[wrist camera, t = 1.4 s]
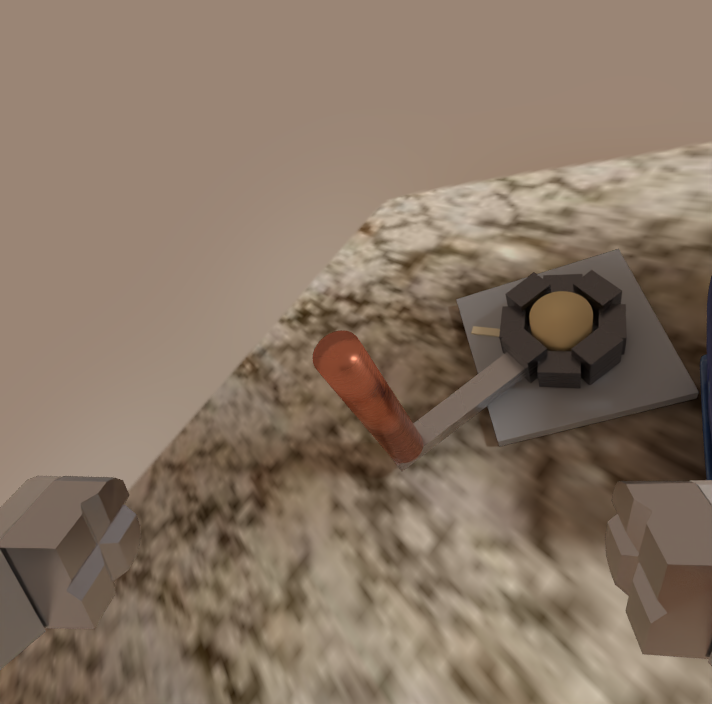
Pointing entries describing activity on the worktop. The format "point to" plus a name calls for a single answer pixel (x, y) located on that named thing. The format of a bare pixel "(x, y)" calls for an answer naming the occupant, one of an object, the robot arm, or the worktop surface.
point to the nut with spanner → (520, 360)
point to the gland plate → (605, 394)
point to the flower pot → (707, 390)
